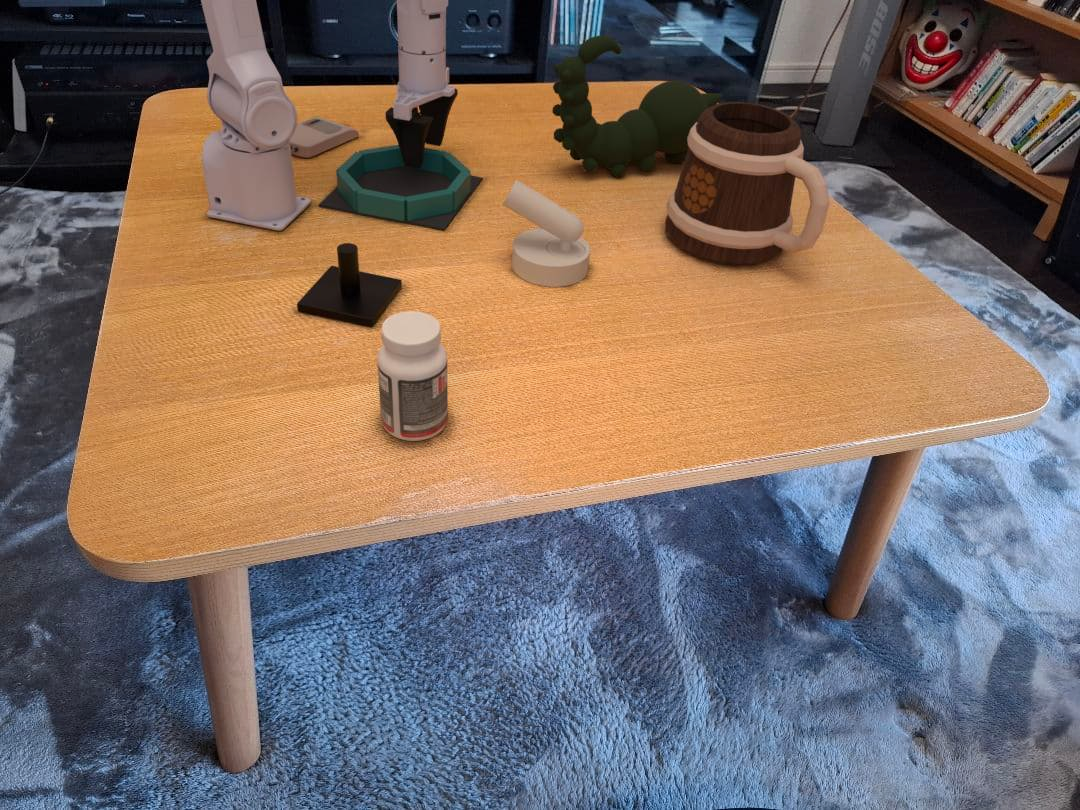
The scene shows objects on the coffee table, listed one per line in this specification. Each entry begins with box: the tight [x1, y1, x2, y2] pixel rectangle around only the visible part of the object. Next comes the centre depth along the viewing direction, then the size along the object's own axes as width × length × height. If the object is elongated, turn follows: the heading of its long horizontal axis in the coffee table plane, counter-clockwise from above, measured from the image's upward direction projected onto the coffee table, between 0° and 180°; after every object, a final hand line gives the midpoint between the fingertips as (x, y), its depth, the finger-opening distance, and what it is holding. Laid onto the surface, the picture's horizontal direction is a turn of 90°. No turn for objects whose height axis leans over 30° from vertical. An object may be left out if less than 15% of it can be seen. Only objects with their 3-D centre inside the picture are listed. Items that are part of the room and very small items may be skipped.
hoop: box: [335, 144, 472, 221], centre depth 107 cm, size 15×15×3 cm
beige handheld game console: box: [290, 116, 360, 159], centre depth 117 cm, size 7×16×3 cm, turn 148°
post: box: [296, 242, 403, 328], centre depth 87 cm, size 8×8×6 cm
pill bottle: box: [376, 310, 449, 442], centre depth 72 cm, size 6×6×10 cm
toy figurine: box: [552, 34, 724, 178], centre depth 114 cm, size 9×19×25 cm
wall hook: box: [502, 179, 591, 288], centre depth 94 cm, size 9×10×10 cm
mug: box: [664, 101, 830, 267], centre depth 99 cm, size 20×15×15 cm
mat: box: [318, 166, 483, 231], centre depth 108 cm, size 16×15×1 cm
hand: (423, 155), depth 112 cm, fingers open, 7 cm apart
